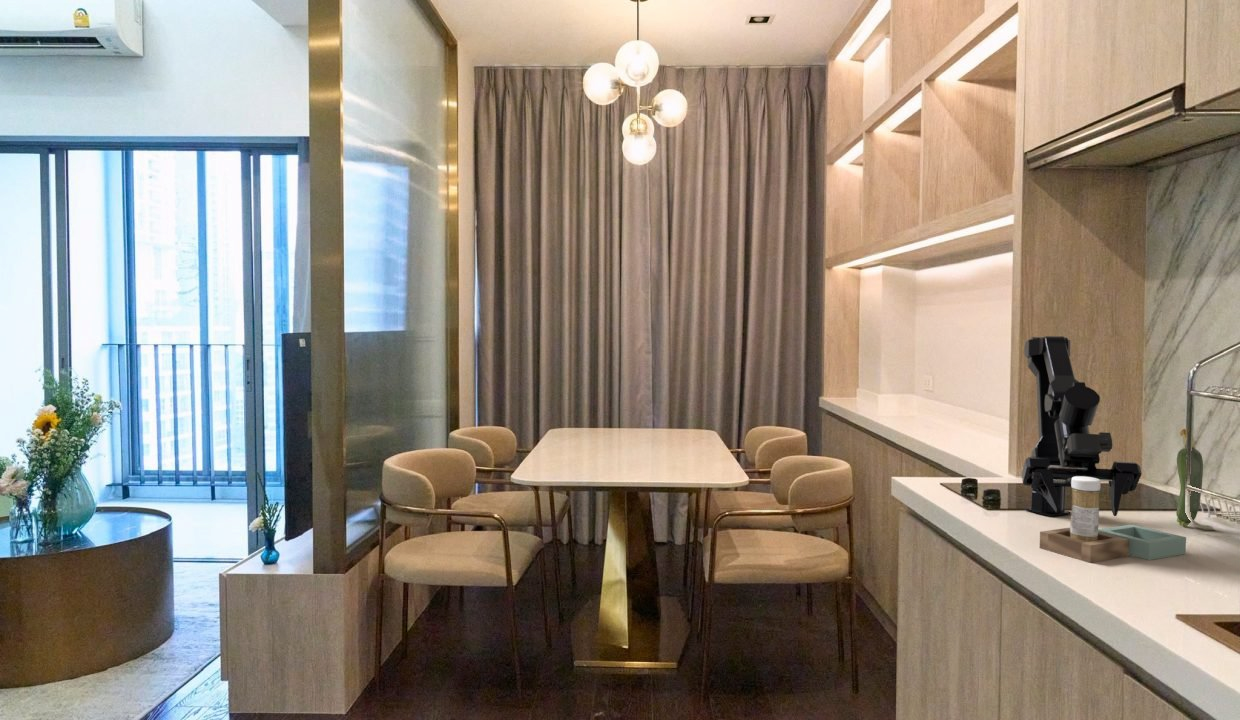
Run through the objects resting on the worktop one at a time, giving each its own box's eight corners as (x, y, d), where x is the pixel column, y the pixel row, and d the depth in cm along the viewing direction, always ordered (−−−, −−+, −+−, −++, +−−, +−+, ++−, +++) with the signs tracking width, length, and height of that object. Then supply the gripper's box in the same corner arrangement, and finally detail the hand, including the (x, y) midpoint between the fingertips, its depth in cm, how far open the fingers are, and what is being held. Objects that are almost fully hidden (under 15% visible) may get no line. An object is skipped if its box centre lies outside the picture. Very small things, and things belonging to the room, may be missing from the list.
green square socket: (1131, 540, 158) (1131, 524, 158) (1185, 553, 149) (1186, 537, 149) (1095, 545, 154) (1096, 529, 154) (1149, 560, 145) (1149, 543, 145)
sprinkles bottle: (1078, 547, 153) (1081, 474, 152) (1103, 553, 149) (1106, 478, 148) (1063, 550, 151) (1066, 476, 150) (1088, 557, 147) (1090, 481, 146)
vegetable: (1199, 526, 169) (1203, 428, 168) (1201, 531, 165) (1205, 430, 164) (1173, 523, 171) (1177, 426, 170) (1174, 528, 168) (1178, 429, 167)
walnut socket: (1077, 542, 157) (1077, 526, 156) (1128, 556, 147) (1129, 539, 147) (1039, 547, 152) (1040, 531, 152) (1090, 562, 143) (1090, 545, 143)
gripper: (1026, 414, 155) (1035, 483, 145) (1140, 418, 150) (1158, 490, 140) (1018, 449, 163) (1026, 518, 153) (1126, 455, 158) (1141, 526, 148)
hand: (1086, 512), depth 148 cm, fingers open, 9 cm apart
